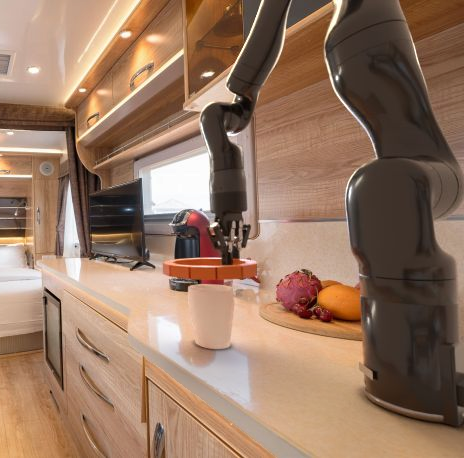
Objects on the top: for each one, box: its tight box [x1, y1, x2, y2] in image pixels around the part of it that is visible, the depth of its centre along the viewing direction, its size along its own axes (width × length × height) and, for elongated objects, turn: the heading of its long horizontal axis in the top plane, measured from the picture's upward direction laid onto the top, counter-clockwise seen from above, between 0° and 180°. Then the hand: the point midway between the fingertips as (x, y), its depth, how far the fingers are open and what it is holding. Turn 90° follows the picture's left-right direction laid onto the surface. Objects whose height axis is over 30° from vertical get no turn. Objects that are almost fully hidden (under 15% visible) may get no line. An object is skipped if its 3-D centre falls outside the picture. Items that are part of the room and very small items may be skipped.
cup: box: [187, 283, 235, 350], centre depth 70 cm, size 9×9×12 cm
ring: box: [162, 257, 258, 281], centre depth 70 cm, size 18×18×2 cm
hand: (231, 268), depth 74 cm, fingers closed on ring, 2 cm apart
